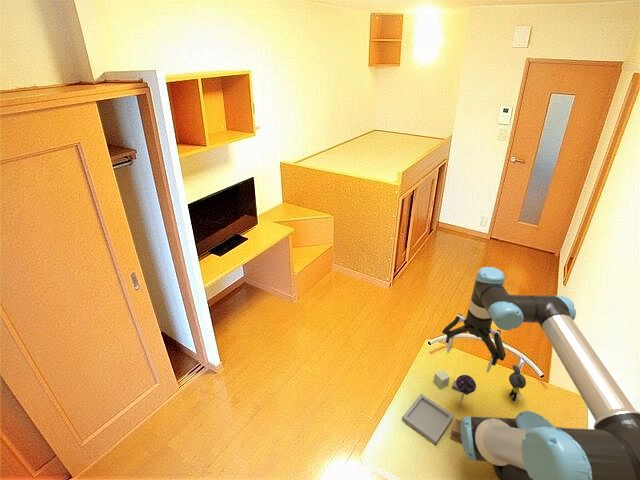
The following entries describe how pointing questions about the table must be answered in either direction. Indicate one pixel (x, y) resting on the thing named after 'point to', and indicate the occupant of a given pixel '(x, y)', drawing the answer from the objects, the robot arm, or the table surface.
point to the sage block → (441, 379)
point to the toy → (516, 383)
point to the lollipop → (465, 385)
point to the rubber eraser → (456, 387)
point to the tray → (428, 418)
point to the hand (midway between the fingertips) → (468, 359)
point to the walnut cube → (456, 431)
